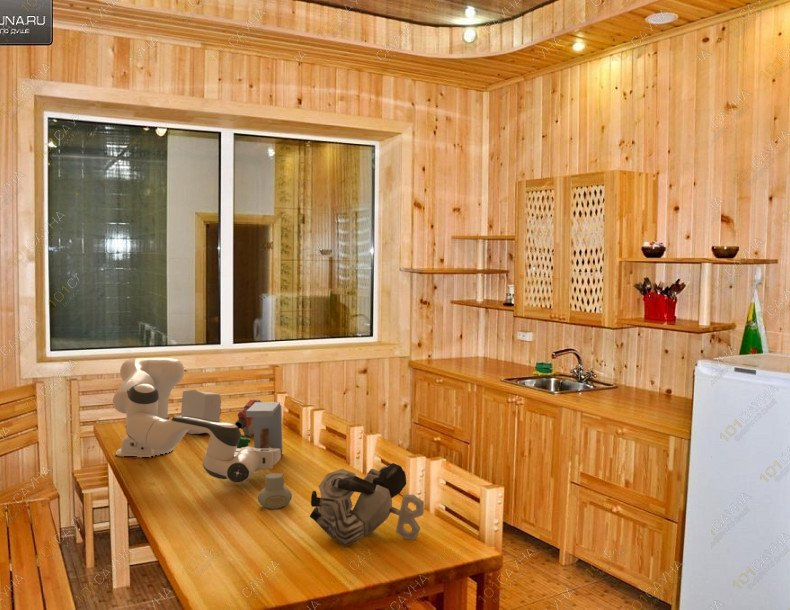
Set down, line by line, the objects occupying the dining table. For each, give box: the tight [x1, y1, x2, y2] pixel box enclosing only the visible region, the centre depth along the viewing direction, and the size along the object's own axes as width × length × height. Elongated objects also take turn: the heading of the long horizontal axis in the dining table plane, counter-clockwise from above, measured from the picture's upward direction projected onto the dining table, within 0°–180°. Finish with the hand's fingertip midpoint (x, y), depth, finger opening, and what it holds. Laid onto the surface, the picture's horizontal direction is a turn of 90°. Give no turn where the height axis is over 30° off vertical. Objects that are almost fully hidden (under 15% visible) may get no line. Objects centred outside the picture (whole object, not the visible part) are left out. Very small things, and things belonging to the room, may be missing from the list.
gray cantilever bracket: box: [246, 401, 284, 455], centre depth 290 cm, size 11×16×21 cm
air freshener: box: [256, 472, 293, 510], centre depth 237 cm, size 11×8×10 cm
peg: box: [260, 429, 269, 448], centre depth 290 cm, size 4×4×12 cm
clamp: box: [237, 434, 252, 448], centre depth 307 cm, size 12×6×9 cm, turn 28°
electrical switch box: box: [180, 389, 222, 435], centre depth 340 cm, size 15×15×20 cm
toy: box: [309, 462, 425, 548], centre depth 212 cm, size 21×31×30 cm
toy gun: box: [234, 398, 262, 438], centre depth 330 cm, size 4×20×15 cm, turn 163°
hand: (256, 449), depth 276 cm, fingers open, 8 cm apart
